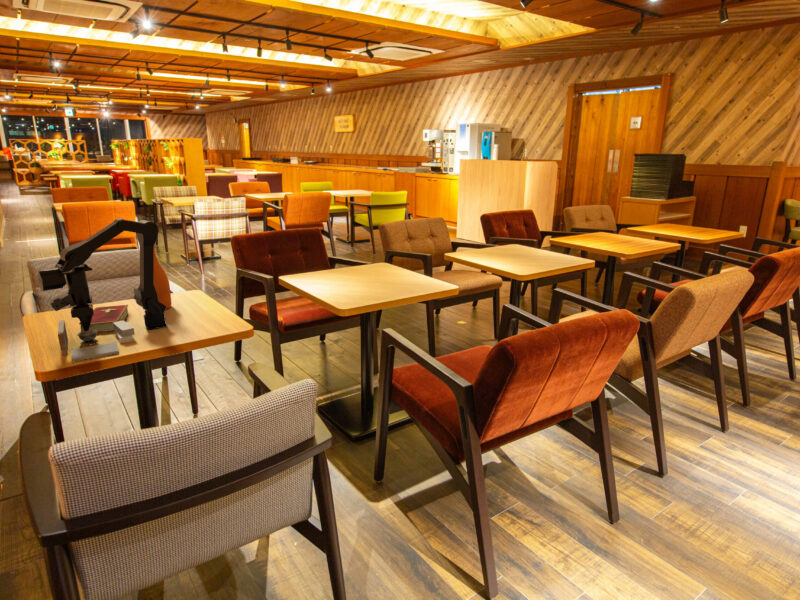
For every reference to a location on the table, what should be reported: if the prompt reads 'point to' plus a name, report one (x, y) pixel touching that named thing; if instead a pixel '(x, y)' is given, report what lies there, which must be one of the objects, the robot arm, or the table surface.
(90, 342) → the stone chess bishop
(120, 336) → the bottom offcut
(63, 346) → the long thin taupe batten
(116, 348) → the slate mat
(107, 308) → the hardcover book
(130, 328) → the top offcut
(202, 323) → the table surface
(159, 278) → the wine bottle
